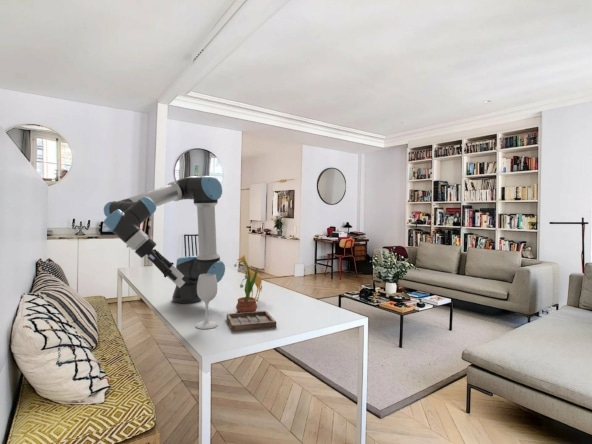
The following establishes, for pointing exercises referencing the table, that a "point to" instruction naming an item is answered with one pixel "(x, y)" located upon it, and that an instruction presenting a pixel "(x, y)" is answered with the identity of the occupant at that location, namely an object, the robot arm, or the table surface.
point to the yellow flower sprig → (257, 281)
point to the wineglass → (206, 296)
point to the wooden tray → (250, 321)
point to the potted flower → (246, 291)
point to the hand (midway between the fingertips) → (182, 281)
